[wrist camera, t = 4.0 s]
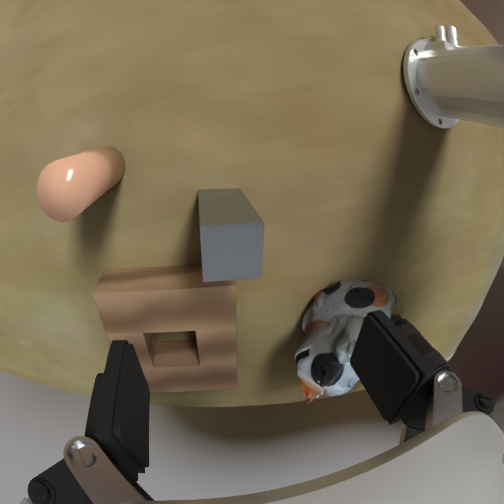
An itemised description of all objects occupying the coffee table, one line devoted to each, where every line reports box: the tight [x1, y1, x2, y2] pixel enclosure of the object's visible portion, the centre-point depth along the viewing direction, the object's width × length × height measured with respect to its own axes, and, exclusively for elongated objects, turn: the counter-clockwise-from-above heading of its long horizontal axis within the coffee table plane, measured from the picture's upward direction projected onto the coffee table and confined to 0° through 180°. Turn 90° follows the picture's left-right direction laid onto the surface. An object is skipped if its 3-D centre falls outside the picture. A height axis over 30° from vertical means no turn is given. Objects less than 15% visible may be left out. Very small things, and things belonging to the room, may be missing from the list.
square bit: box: [198, 189, 264, 282], centre depth 22 cm, size 4×4×10 cm
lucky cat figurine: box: [295, 280, 397, 404], centre depth 31 cm, size 15×12×14 cm
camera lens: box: [391, 315, 454, 376], centre depth 34 cm, size 8×8×15 cm
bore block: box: [93, 265, 237, 392], centre depth 29 cm, size 16×14×4 cm
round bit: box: [37, 147, 125, 222], centre depth 18 cm, size 4×4×10 cm
